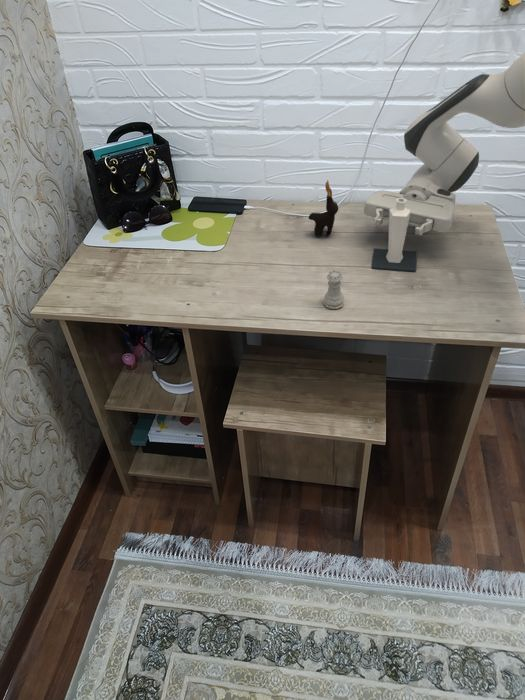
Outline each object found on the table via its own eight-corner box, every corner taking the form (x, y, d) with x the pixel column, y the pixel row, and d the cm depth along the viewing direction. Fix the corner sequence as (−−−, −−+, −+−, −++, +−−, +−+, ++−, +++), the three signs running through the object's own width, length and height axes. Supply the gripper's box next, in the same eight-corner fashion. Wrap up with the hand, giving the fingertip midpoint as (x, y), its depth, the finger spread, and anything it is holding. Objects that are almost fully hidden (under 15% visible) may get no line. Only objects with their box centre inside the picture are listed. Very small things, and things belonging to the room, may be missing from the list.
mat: (416, 252, 135) (416, 251, 135) (415, 272, 130) (416, 270, 129) (373, 249, 137) (373, 248, 137) (371, 269, 132) (371, 267, 131)
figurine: (336, 245, 140) (338, 188, 130) (307, 244, 141) (307, 188, 131) (338, 222, 147) (341, 167, 137) (311, 221, 148) (311, 167, 138)
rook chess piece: (343, 311, 121) (345, 280, 116) (322, 309, 122) (323, 279, 116) (344, 298, 124) (346, 267, 119) (324, 296, 125) (325, 266, 120)
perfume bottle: (391, 266, 131) (398, 207, 121) (381, 256, 134) (387, 198, 124) (408, 260, 132) (416, 202, 122) (397, 251, 135) (405, 193, 125)
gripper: (377, 179, 137) (354, 205, 129) (462, 195, 129) (444, 224, 120) (375, 202, 141) (353, 229, 133) (457, 220, 133) (439, 250, 125)
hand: (397, 227), depth 127 cm, fingers open, 8 cm apart
